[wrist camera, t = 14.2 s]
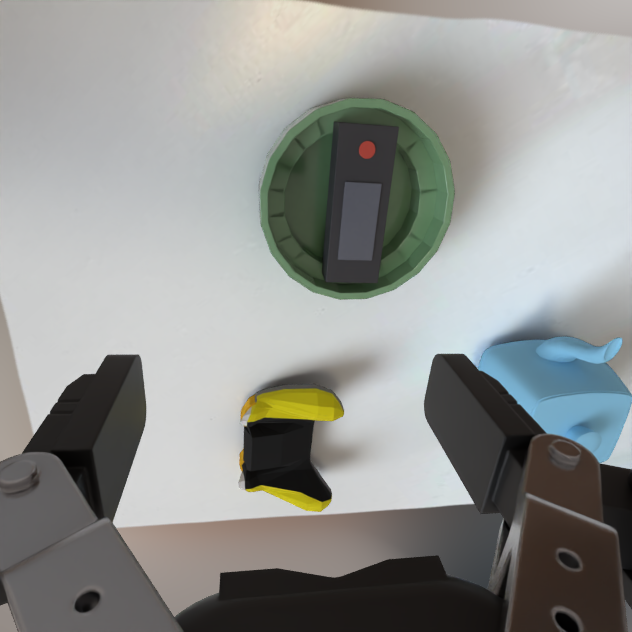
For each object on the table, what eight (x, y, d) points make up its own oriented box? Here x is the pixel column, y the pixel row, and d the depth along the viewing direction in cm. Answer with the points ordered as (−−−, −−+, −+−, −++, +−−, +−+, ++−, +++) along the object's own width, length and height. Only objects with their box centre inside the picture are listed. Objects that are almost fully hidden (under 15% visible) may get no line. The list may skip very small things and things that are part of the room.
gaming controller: (338, 370, 46) (241, 370, 44) (349, 402, 41) (240, 402, 39) (324, 479, 52) (238, 482, 50) (332, 517, 47) (237, 522, 45)
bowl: (221, 176, 36) (217, 184, 31) (375, 57, 34) (394, 49, 29) (323, 308, 42) (332, 332, 38) (458, 216, 40) (484, 228, 36)
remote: (333, 121, 33) (339, 122, 31) (389, 125, 33) (400, 126, 31) (321, 272, 38) (326, 283, 35) (370, 273, 38) (378, 284, 36)
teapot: (594, 289, 46) (695, 340, 35) (550, 427, 53) (622, 502, 43) (483, 291, 44) (555, 345, 34) (454, 433, 51) (505, 513, 41)
